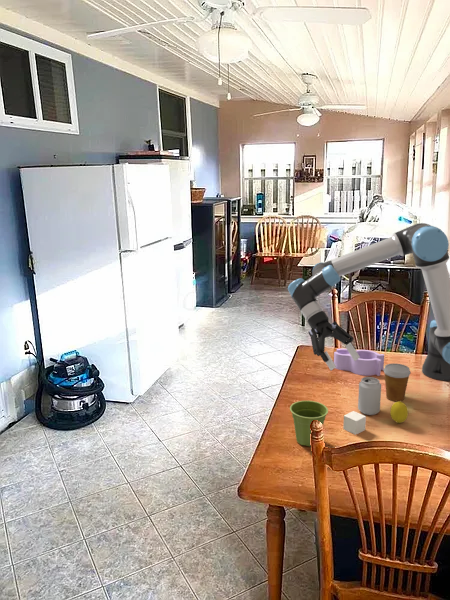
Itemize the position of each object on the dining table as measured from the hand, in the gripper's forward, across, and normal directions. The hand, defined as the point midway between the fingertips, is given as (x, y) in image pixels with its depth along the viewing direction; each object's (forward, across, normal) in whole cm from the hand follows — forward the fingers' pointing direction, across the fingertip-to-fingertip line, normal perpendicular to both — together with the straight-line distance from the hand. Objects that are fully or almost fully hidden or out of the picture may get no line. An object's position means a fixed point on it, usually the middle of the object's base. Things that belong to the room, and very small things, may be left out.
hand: (345, 363), depth 180 cm
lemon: (+26, 0, +5) cm, 27 cm away
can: (+18, 0, -3) cm, 18 cm away
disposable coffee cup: (+18, -16, -3) cm, 24 cm away
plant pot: (+18, +31, -3) cm, 36 cm away
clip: (0, -29, -22) cm, 36 cm away
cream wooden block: (+21, +14, 0) cm, 26 cm away
